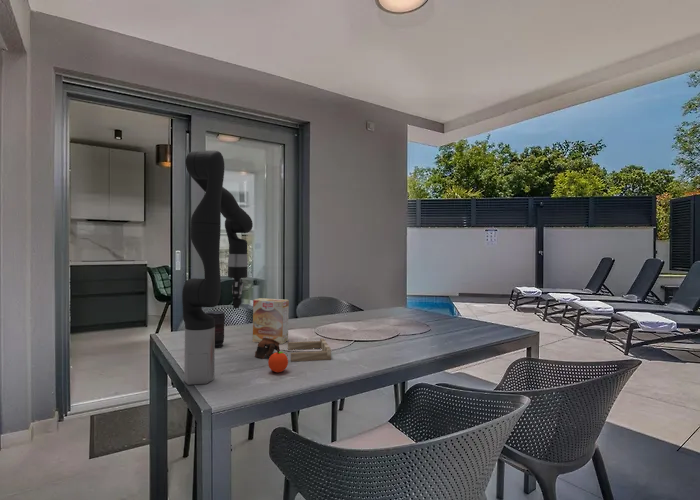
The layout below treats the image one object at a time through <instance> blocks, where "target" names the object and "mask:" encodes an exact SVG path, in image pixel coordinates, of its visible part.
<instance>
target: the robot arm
mask: <svg viewBox="0 0 700 500" xmlns="http://www.w3.org/2000/svg"><path fill="white" fill-rule="evenodd" d="M185 169H186V171H187V173H188V174H189V176H190V178H192V179H193V180H194V182H195V183H196V184H197V185H198V186H199V187H200V189H202V190H203V191H204V192H205V193H204V195H203V197H202V199H201V200H200V202H199V203H198V205H197V206H196V208H195V209H194V211H193V213H192V214H191V215H192V216H191V219H190V240H191V243H192V245H193V247H194V249H195V251H196V253H197V254H198V256H199V257H200V260H201V261H202V265H203V270H204V273H203V274H204V278H189V279H187V280H186V281H185V282H184V284H183V287H182V293H181V297H182V298H181V299H182V301H181V303H182V319H183V323H184V359H183V361H184V362H183V363H184V365H183V366H184V367H183V368H184V376H183V377H184V378H183V379H184V381H183V382H184V383H186V385H187V386H188V385H205V384H208V383H210V382H212V381H213V380H214V379H215V352H216V351H215V350H216V348H215V319H214V318H213V317H211V316H209V315H207V314H206V312H205V311H204V310H203V308H215V307H217V305H218V304H219V302H220V300H221V293H222V282H221V281H222V280H221V267H220V266H221V264H220V261H221V260H220V253H221V252H220V251H221V250H220V248H221V247H220V246H221V231H222V230H221V225H222V223H221V221H222V220H221V216H222V217H223V218H224V219H225V221H224V228H225V233H226V236H227V241H228V258H227V278H229V279H233V281H232V283H231V288H232V290H231V293H232V299H233V304H232V305H233V309H239V308H240V306H241V304H242V294H243V287H244V282H243V279H245V278H246V279H247V278H248V276H249V275H248V267H249V263H248V261H249V259H248V241H247V240H246V239H244V238H240V237H238V234H247V233H250V232H251V231H252V229H253V225H254V224H253V220H252V218H251V216H250V215H249V214H248V213H247V212H246V211H245V210H244V209H243V208H241V206H240V205H239V203H238V202H237V200H236V198H235V196H234V195H233V194H232V193H231V192H230V191H229V190H227V188H225V187H223V186H224V178H225V159H224V156H223V154H222V153H221V152H220V151H218V150H195V151H194V150H193V151H190V152H189V153H187V154H186V157H185Z"/></svg>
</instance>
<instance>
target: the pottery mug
mask: <svg viewBox="0 0 700 500" xmlns="http://www.w3.org/2000/svg"><path fill="white" fill-rule="evenodd" d="M280 345H281V344H280V343H279V342H277V341H275V340H273V339H270V338H263V339H262V341H261V342H257V346H256V350H255V351H254V357H255V358H260V359H263V360H265V358H266V357H267V358H270V356H271V355H272V354H273V353H274V351H276V352H281V351H280Z"/></svg>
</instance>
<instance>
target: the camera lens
mask: <svg viewBox="0 0 700 500" xmlns="http://www.w3.org/2000/svg"><path fill="white" fill-rule="evenodd" d="M205 313H206V314H207V315H209V316H211V317H213V318H214V319H215V349H217V348H221V347H223V345H224V341H225V322H226V320H225V319H226V315H225V313H226V312H225V311H221V310H211V311H207V312H205Z"/></svg>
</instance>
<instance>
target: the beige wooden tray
mask: <svg viewBox="0 0 700 500" xmlns="http://www.w3.org/2000/svg"><path fill="white" fill-rule="evenodd" d="M313 348H321V349H322V350H321V349H320V350H319V351H300V352H298V351H297V352H290V362H306V361H307V362H309V361H312V362H313V361H331V360H332V349H331V347H330V346H329V344H328V343H327V341H326V340H325V338H320V340H315V341H309V340H308V341H289V342H288V341H287V350H288V351H296V350H295V349H303V350H314V349H313ZM293 349H294V350H293Z"/></svg>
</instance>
